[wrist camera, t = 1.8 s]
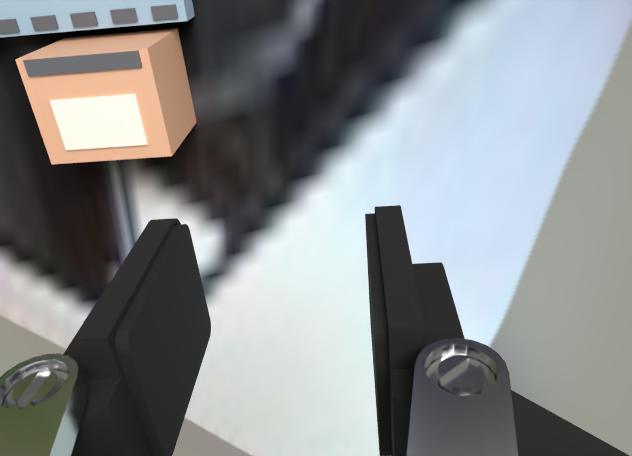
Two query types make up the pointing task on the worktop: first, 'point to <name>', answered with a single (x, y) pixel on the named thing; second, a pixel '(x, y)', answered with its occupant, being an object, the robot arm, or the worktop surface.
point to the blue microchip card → (87, 14)
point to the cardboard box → (110, 96)
